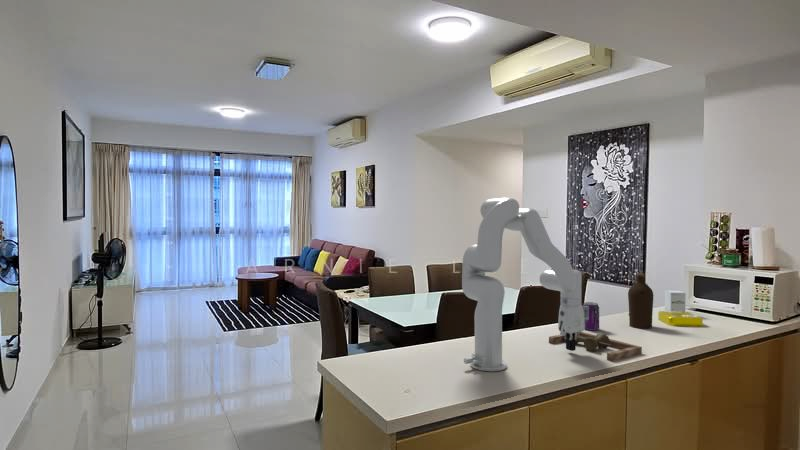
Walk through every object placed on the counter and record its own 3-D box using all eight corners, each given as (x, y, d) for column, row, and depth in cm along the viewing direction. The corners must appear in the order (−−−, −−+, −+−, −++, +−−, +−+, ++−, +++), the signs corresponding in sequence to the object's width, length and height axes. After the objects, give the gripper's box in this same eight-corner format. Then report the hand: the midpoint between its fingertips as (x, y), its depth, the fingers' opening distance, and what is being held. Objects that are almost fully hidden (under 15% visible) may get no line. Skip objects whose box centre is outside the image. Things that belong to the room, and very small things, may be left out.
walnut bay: (611, 361, 164) (611, 354, 164) (548, 342, 189) (548, 336, 189) (641, 353, 173) (641, 346, 173) (577, 336, 198) (577, 330, 198)
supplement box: (670, 316, 236) (670, 292, 236) (664, 313, 243) (664, 290, 243) (685, 317, 235) (685, 292, 234) (679, 313, 242) (679, 290, 242)
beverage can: (600, 331, 207) (600, 305, 207) (584, 330, 208) (584, 304, 208) (597, 327, 214) (597, 302, 214) (581, 327, 215) (581, 301, 215)
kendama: (573, 341, 194) (618, 351, 177) (559, 345, 188) (604, 356, 172) (573, 327, 194) (618, 335, 177) (558, 331, 188) (604, 340, 172)
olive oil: (658, 328, 211) (658, 274, 211) (638, 329, 209) (638, 275, 209) (643, 323, 221) (642, 272, 221) (623, 324, 220) (623, 272, 219)
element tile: (688, 320, 229) (688, 310, 229) (704, 327, 214) (704, 317, 214) (656, 319, 231) (656, 310, 231) (670, 326, 216) (670, 316, 216)
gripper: (565, 305, 168) (565, 355, 168) (592, 301, 175) (591, 349, 175) (549, 302, 174) (549, 350, 174) (575, 298, 182) (575, 344, 182)
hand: (570, 349), depth 175 cm, fingers closed
